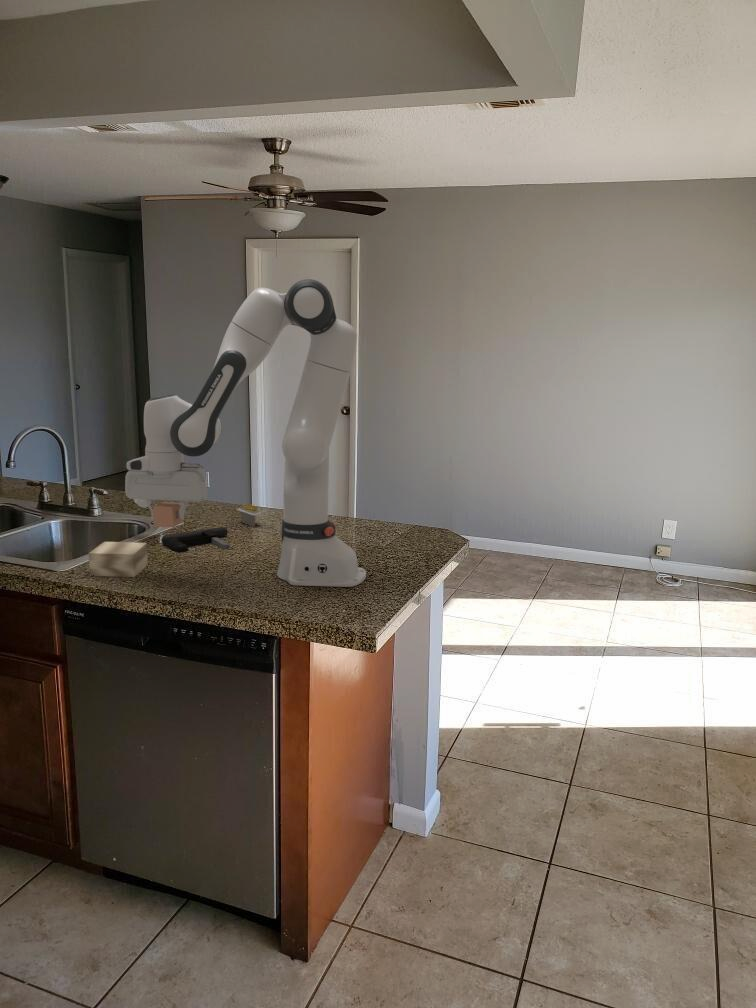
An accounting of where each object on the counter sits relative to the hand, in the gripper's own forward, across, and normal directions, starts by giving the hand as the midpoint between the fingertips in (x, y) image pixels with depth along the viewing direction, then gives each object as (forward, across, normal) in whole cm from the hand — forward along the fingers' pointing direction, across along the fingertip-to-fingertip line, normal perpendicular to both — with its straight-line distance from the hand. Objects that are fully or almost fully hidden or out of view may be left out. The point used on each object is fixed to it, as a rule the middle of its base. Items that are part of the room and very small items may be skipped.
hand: (167, 517), depth 193 cm
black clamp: (+15, +4, -29) cm, 33 cm away
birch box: (+14, +14, 0) cm, 20 cm away
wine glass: (+14, +23, -31) cm, 41 cm away
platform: (+15, 0, -56) cm, 58 cm away
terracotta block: (+2, 0, 0) cm, 2 cm away
